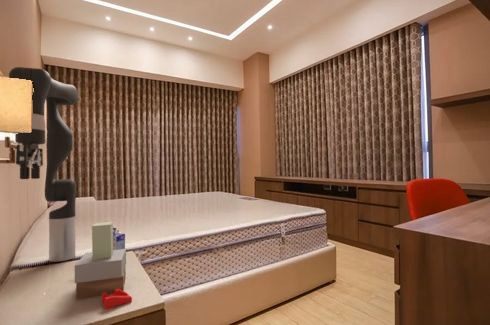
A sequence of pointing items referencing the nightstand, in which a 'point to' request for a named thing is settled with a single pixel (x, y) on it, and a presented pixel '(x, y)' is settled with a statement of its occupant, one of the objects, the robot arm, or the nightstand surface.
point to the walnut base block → (99, 287)
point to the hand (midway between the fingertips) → (30, 178)
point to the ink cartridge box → (118, 240)
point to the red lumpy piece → (115, 299)
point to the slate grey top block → (100, 267)
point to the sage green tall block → (102, 240)
